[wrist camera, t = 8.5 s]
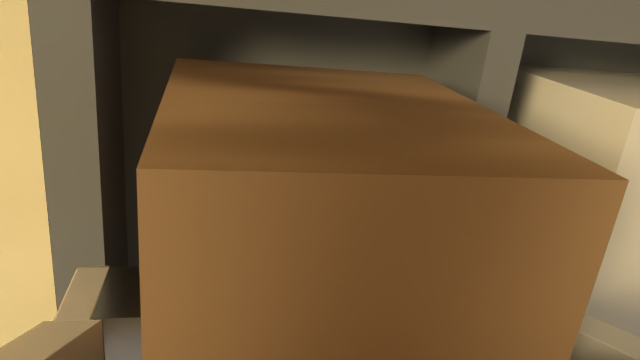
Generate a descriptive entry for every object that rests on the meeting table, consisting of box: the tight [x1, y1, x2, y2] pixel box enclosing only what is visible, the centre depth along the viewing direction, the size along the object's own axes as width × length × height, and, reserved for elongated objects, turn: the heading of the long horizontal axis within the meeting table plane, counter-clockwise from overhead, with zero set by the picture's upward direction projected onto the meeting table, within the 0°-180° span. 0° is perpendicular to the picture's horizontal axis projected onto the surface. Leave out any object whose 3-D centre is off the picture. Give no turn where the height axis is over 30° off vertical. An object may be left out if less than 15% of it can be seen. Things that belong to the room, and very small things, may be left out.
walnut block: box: [136, 58, 629, 360], centre depth 9 cm, size 5×8×6 cm, turn 174°
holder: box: [27, 0, 640, 311], centre depth 14 cm, size 18×12×4 cm, turn 84°
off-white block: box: [507, 65, 640, 337], centre depth 14 cm, size 5×8×5 cm, turn 174°
